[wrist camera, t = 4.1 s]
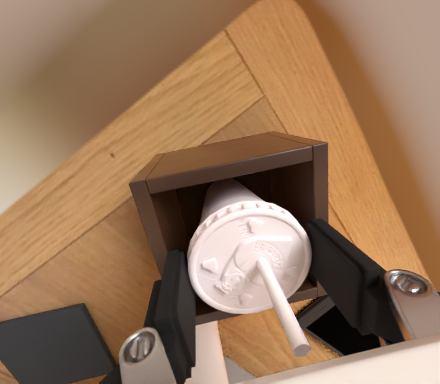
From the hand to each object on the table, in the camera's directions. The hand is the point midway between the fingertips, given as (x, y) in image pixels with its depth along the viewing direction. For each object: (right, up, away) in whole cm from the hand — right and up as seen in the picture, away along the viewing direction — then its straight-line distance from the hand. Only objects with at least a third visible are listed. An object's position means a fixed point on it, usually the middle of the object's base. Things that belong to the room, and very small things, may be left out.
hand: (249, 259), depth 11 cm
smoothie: (-1, +3, +9) cm, 9 cm away
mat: (-19, -13, +12) cm, 26 cm away
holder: (-1, +3, +8) cm, 9 cm away
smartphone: (+15, -13, +16) cm, 26 cm away
